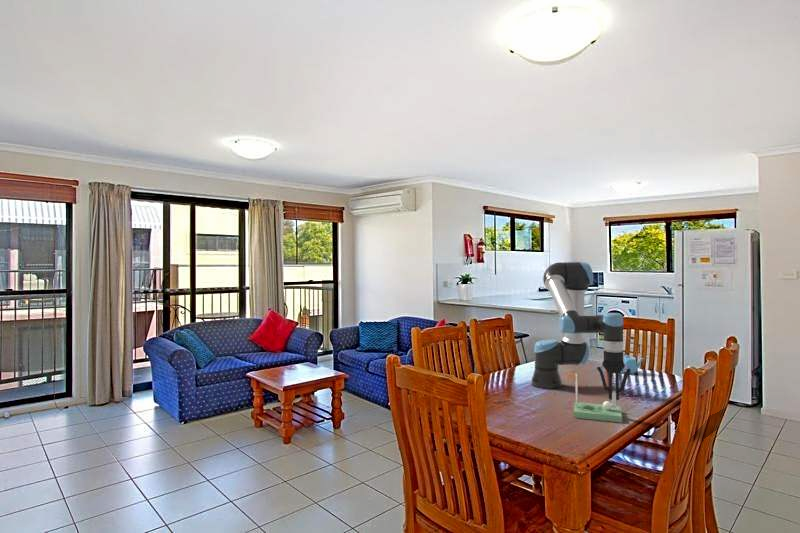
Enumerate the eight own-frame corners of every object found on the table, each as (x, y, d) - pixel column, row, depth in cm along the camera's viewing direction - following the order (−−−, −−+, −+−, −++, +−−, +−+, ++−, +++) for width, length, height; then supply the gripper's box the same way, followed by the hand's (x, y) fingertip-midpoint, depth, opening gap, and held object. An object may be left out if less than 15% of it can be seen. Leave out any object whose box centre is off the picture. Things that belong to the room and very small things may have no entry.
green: (567, 416, 192) (566, 377, 192) (568, 407, 205) (568, 369, 205) (622, 422, 185) (621, 381, 185) (620, 412, 198) (619, 373, 197)
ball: (609, 412, 191) (601, 408, 192) (609, 410, 194) (600, 405, 196) (613, 405, 190) (605, 400, 192) (613, 402, 194) (605, 398, 195)
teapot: (610, 373, 265) (609, 356, 265) (610, 368, 278) (610, 351, 278) (645, 376, 257) (645, 358, 257) (644, 371, 270) (644, 354, 270)
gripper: (596, 351, 191) (597, 408, 191) (631, 353, 186) (632, 411, 186) (596, 348, 198) (596, 403, 198) (630, 349, 193) (630, 406, 193)
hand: (614, 407), depth 192 cm, fingers closed
